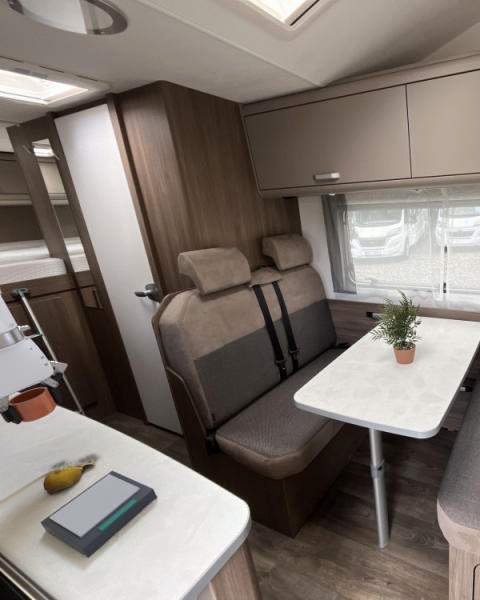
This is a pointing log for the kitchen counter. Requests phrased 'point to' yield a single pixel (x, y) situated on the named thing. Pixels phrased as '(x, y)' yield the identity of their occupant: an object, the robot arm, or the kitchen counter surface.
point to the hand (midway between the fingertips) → (37, 411)
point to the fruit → (63, 477)
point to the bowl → (33, 404)
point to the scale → (99, 512)
